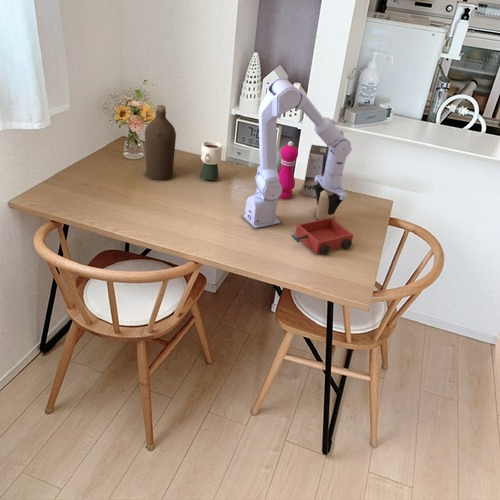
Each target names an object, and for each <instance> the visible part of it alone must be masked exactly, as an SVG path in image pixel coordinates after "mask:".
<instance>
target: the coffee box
mask: <svg viewBox="0 0 500 500" xmlns="http://www.w3.org/2000/svg"><path fill="white" fill-rule="evenodd" d="M328 151H329V147H327V146H324V145H317V144H311V146H310V150H309V153H308V160H307V165H306V170H305V176H304V181H303V187H302V192H301V194H302V195H301V196H307V197H312V198H316V199H317V196H316V192H315V189H314V185H317V184H318V182H315V181H314V180H315V176H317V175H321V176H324V171H325V166H326V161H327V156H328Z"/></svg>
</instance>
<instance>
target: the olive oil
mask: <svg viewBox="0 0 500 500" xmlns="http://www.w3.org/2000/svg"><path fill="white" fill-rule="evenodd" d="M166 110H167V109H166V106H165V105H162V104H159V105H156V106H155V117H154V118H153V119H152V120H151V121H149V123H148V124H147V125H146V127H145V130H144V145H145V146H144V148H145V170H146V176H147V177H148V178H149V179H151V180H154V181H167V180H170V179H172V177H173V176H174V164H175V151H176V140H177V139H176V138H177V132H176V129H175V126H174V125H173V123H171V122H170V121H169V120H168V118H167V117H166V116H167V115H166V114H167V111H166Z"/></svg>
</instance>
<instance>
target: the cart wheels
mask: <svg viewBox="0 0 500 500" xmlns="http://www.w3.org/2000/svg"><path fill="white" fill-rule="evenodd" d="M291 238H292V239H293V240H294V241H295V242H297V243H298V244H299V243H300V242H301V240H300V239H303V238H308V235H304V236H300V237H296V236H295V234H291ZM352 244H353V241H352V242H351V241H350V240H349V239H347V240H345V241H344V242H343V244H342V247H343V249H344V250H349V248H351V246H352ZM329 250H330V247H329V246H328V245H326V244H325V245H323V246H322V247H321V249H320V252H321V253H320V254H322V255H327V254H328V253H329V252H330V251H329Z"/></svg>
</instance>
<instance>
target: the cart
mask: <svg viewBox="0 0 500 500" xmlns="http://www.w3.org/2000/svg"><path fill="white" fill-rule="evenodd" d="M304 235H308V238H303V239H299V240H300V242H302V243H303V244H304V245H305V246H306V247H308V248H309V249H310V250H311V251H312V252H313V253H314V254H316V255H318V254H322V253H321V252H320V249H321V247H322V246H323V245H325V244H326V245H328V246H329V247H330V250H329V252H331V251H334V250H338V249H342V248H343V247H342V244H343V242H344V241H345V240H347V239H349V240H350V241H351V242H352V243H353V239H354V238H353V237H354V234H353V233H352V232H351V231H350V230H348V229H347V228H346V227H345V226H343V225H342V224H340V223H339V222H337V221H336V220H335V219H334V218H326V219H321V220H319V219H316V220H312V221H307V222H303V223H298V224H296V230H295V234H294V236H295V237H300V236H304ZM343 249H344V248H343Z"/></svg>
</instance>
